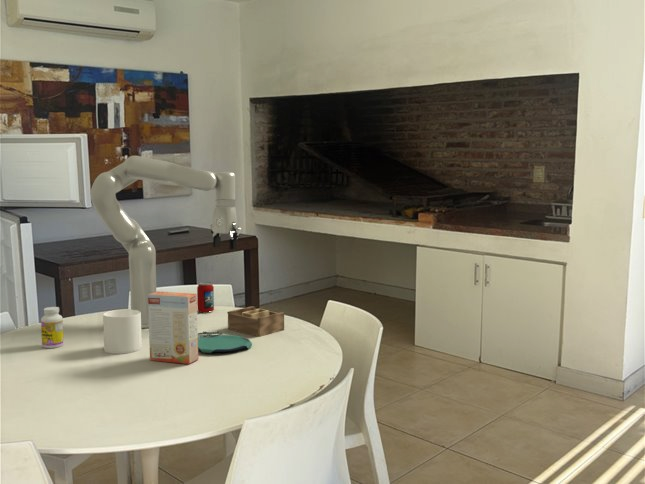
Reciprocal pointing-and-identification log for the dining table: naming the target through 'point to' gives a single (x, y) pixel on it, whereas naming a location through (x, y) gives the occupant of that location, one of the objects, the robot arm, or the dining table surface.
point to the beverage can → (205, 297)
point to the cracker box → (173, 327)
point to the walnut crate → (255, 322)
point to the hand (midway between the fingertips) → (224, 248)
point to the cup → (122, 331)
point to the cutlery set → (221, 342)
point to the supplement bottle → (52, 328)
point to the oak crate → (256, 313)
